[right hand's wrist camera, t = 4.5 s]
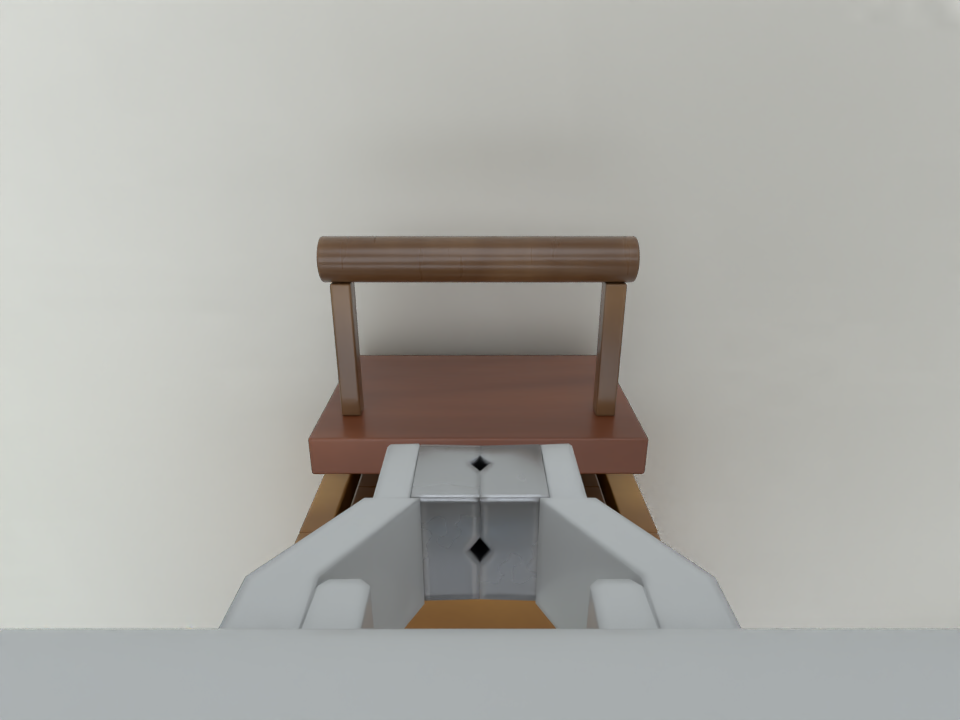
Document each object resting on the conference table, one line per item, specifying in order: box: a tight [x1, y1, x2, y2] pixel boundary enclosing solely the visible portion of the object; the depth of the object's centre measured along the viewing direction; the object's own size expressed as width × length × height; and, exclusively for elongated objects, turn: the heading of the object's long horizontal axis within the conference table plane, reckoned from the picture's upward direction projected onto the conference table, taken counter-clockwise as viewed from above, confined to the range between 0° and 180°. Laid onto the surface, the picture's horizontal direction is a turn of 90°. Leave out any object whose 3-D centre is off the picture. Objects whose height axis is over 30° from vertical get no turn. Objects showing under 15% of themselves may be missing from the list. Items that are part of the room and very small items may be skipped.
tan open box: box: [295, 474, 661, 629], centre depth 25 cm, size 17×11×9 cm, turn 0°
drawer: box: [308, 236, 648, 507], centre depth 22 cm, size 21×10×7 cm, turn 0°
